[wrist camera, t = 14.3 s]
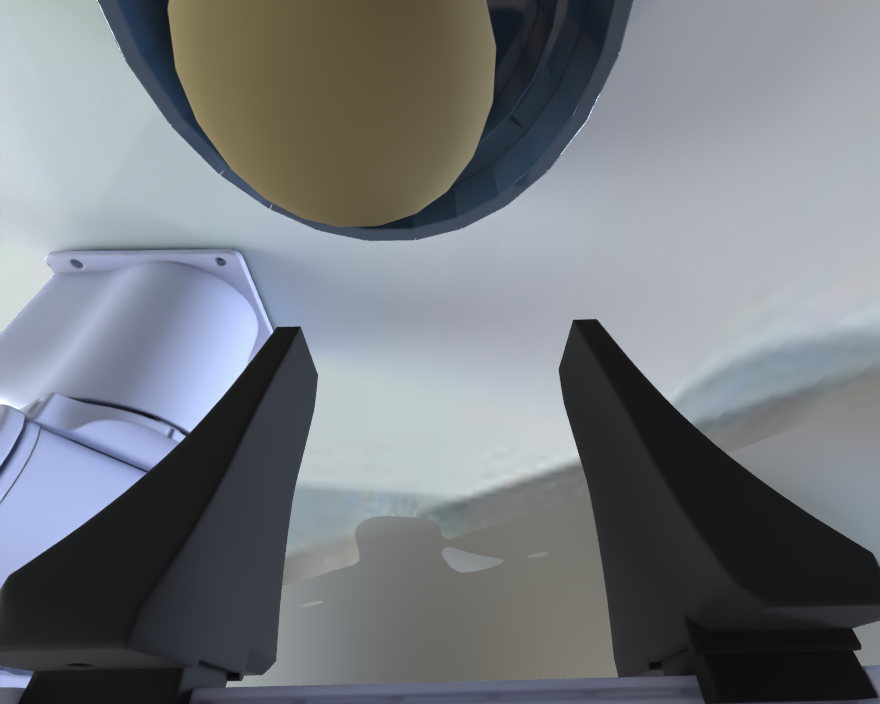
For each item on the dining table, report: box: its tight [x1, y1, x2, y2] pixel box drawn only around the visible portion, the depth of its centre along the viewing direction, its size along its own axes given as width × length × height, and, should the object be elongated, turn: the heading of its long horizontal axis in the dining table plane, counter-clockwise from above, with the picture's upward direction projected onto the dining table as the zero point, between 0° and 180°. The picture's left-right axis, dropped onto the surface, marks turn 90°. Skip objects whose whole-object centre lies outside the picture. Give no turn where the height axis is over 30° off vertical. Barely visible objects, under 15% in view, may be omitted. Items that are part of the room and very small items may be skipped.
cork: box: [168, 0, 496, 227], centre depth 10 cm, size 6×6×11 cm
